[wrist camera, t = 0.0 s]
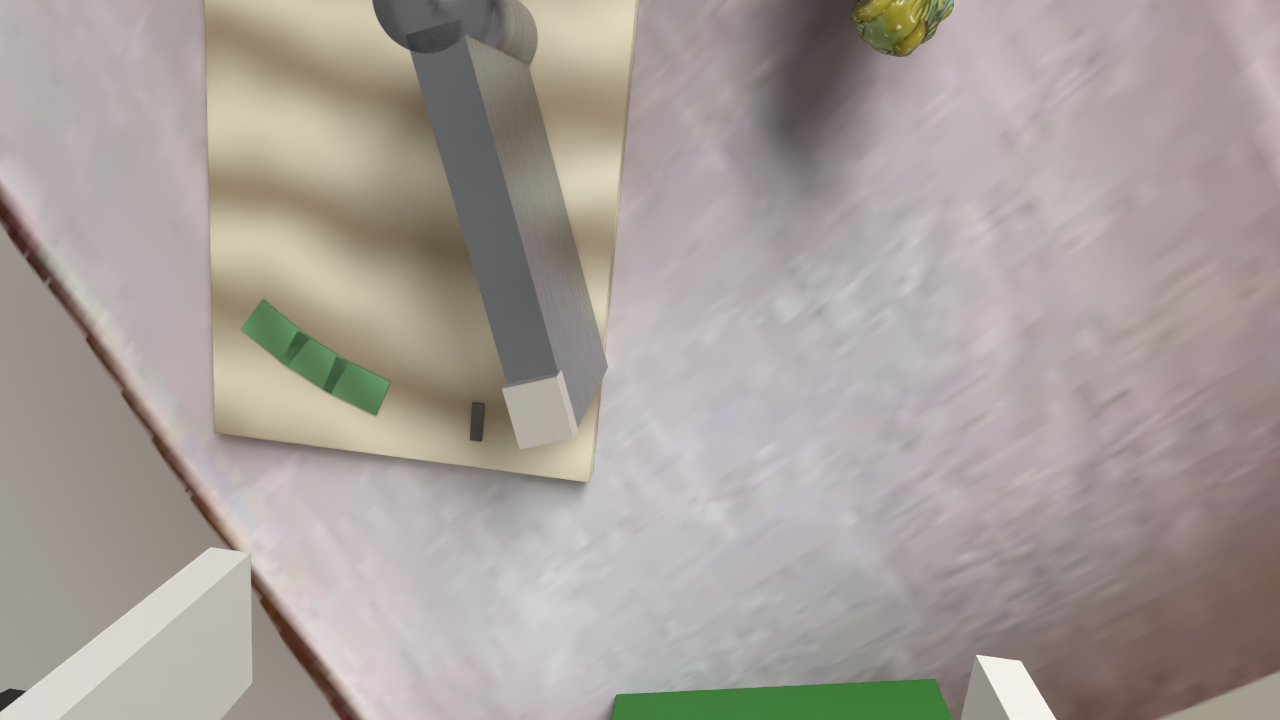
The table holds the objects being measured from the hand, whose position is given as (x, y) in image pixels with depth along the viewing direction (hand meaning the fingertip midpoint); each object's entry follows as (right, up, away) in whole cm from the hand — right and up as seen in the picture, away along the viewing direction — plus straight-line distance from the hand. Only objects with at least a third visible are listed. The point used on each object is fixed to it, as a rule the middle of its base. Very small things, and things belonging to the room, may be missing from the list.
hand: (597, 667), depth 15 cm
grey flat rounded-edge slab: (-4, +13, +24) cm, 28 cm away
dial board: (-10, +12, +27) cm, 31 cm away
